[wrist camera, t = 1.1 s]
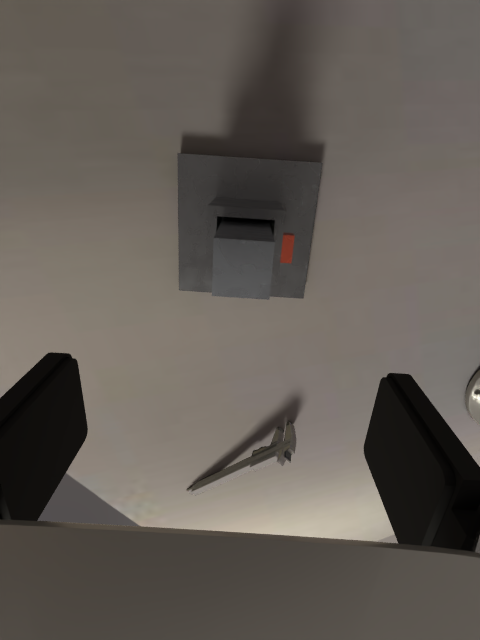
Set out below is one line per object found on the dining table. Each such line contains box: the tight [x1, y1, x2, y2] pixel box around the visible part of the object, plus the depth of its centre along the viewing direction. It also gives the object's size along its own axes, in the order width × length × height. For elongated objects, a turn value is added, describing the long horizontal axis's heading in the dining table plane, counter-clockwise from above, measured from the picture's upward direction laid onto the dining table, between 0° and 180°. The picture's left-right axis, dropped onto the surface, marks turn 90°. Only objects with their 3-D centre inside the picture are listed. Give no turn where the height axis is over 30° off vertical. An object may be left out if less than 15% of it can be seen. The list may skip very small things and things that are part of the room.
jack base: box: [178, 153, 322, 298], centre depth 34 cm, size 14×14×9 cm
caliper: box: [187, 422, 296, 496], centre depth 49 cm, size 20×1×6 cm, turn 133°
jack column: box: [212, 217, 275, 299], centre depth 30 cm, size 4×4×14 cm
